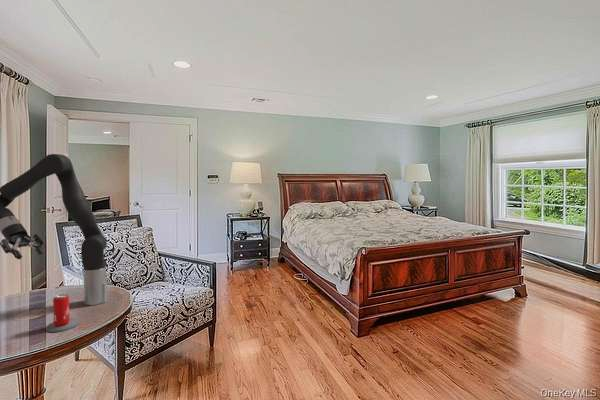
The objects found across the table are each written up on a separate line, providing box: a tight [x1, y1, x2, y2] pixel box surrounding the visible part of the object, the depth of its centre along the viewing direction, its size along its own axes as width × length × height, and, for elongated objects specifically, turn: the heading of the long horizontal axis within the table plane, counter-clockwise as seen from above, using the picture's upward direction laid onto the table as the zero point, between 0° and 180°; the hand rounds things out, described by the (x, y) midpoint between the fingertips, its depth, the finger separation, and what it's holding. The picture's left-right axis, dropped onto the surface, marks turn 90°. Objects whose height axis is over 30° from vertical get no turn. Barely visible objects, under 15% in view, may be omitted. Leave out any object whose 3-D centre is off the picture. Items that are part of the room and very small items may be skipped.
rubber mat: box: [45, 317, 80, 333], centre depth 129 cm, size 11×11×1 cm
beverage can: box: [52, 293, 70, 327], centre depth 128 cm, size 5×5×12 cm
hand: (31, 255), depth 136 cm, fingers open, 8 cm apart
